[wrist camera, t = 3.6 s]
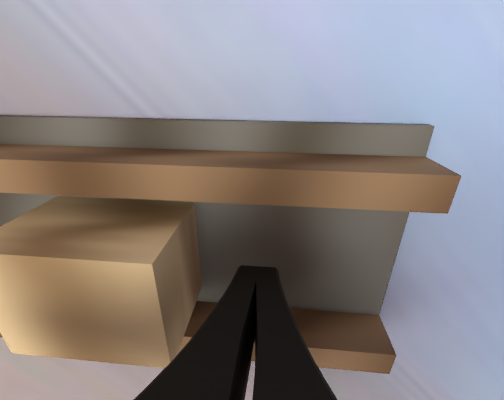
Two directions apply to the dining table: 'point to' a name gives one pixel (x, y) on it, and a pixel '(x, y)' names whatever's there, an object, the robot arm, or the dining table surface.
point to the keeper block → (100, 279)
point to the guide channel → (254, 205)
